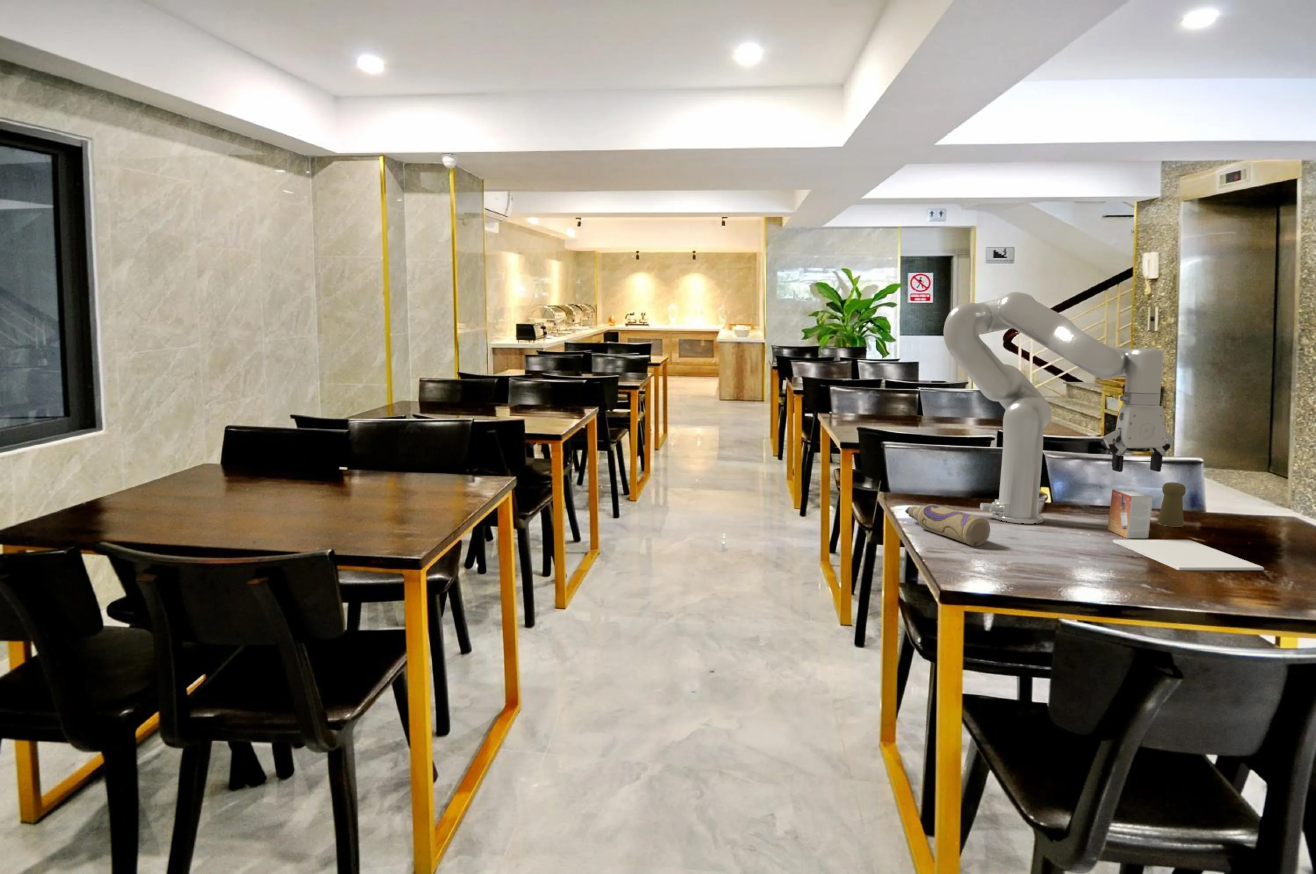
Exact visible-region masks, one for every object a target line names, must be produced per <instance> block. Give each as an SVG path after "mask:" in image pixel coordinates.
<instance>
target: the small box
mask: <svg viewBox="0 0 1316 874" xmlns="http://www.w3.org/2000/svg"><path fill="white" fill-rule="evenodd" d="M1153 499H1154V496H1153V495H1150V494H1146V493H1144V492H1141V491H1137V490H1135V489H1122V488H1121V489H1111V497H1110V505H1109V506H1110V508H1109V513H1108V515H1109V516H1108V524H1107V531H1109V530H1110V531H1109V532H1113V533H1115V534H1116V535H1120V536H1121V537H1123V538H1125V537H1126V538H1125V539H1148V538H1149V533H1150V526H1151V525H1150V524H1151V516H1152V507H1153Z"/></svg>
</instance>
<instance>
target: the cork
mask: <svg viewBox="0 0 1316 874" xmlns="http://www.w3.org/2000/svg"><path fill="white" fill-rule="evenodd" d="M1162 493H1163V497H1162V498H1163V499H1162V500H1161V501H1162V502H1161V506H1160V510H1159V514H1158V518H1157V521H1156V524H1157V523H1160V524H1162V525H1167V526H1178V527H1179V526H1184V525H1185V523H1184V504H1183V503H1184V502H1183V499H1184V498H1183V497H1184V496H1185V495H1186V486H1185V484H1183V483H1179V482H1172V481H1171V482H1165V483H1164V484H1163V485H1162ZM1184 527H1185V526H1184Z"/></svg>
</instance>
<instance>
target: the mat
mask: <svg viewBox="0 0 1316 874" xmlns="http://www.w3.org/2000/svg"><path fill="white" fill-rule="evenodd" d="M1112 542H1113V543H1114V544H1116V545H1118V546H1120V547H1123V548H1126V549H1129V550H1130V551H1133V552H1135V553H1137V554H1140V555H1141V556H1145V557H1147V558H1149V559H1152V560H1154V561H1156V562H1158V563H1161V564H1164V565H1165V566H1168V567H1170V568H1172V569H1174V570H1177V571H1264V570H1265V567H1263V566H1261V565H1259V564H1255V563H1253V562H1250V561H1248V560H1246V559H1245V560H1244V559H1243V558H1239V557H1238V556H1234V555H1232V554H1229V553H1226V552H1224V551H1221V550H1218V549H1216V548H1212V547H1210V546H1207V545H1204V544H1202V543H1199V542H1197V541H1193V540H1191V539H1113V540H1112Z"/></svg>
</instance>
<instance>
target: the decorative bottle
mask: <svg viewBox="0 0 1316 874" xmlns="http://www.w3.org/2000/svg"><path fill="white" fill-rule="evenodd" d="M904 512H905V514H907V515H908V517H909V518H912V519H913V520H915V521H916V522H917V523H918V525H919V526H920V528H921V529H923V530H926V531H929V532H931V533H934V534H937V535H940V536H944V537H947V538H949V539H952V540H955V541H958V542H961V543H963V544H967V545H969V546H970V547H980V546H981V545H983V544H984V543H986V542H987V540H988V539H989V537H990V533H991V524H990V522H989V521H988V520H987V519H985V518H984V517H982V516H981V517H980V516H976V515H972V514H969V513H966V512H962V511H959V510H956V509H952V508H948V507H945V506H941V505H938V504H934V503H930V504H927V505H925V506H919V507H918V506H909V507H907V508H906V509H905V510H904Z"/></svg>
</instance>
